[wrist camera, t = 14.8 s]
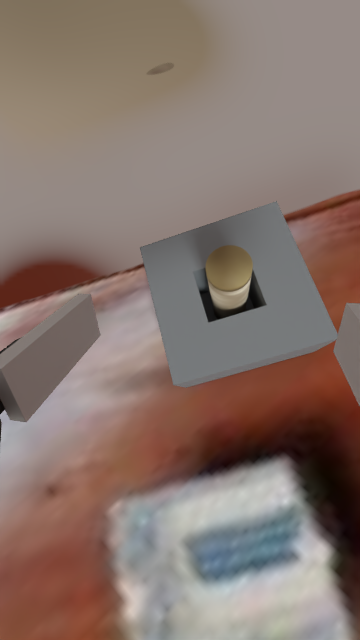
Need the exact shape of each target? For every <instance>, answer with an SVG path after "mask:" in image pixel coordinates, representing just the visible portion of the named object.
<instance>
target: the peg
mask: <svg viewBox="0 0 360 640" xmlns="http://www.w3.org/2000/svg"><path fill="white" fill-rule="evenodd" d="M205 268H206V274H207V279H208V285H209V290H210V295H211V300H212V305H213V310H214V314H215V316H216V318H217V319H218V320H219V319H223V318H226V317H229V316H232V315H236V314H239V313H242V312H245V310H246V304H247V298H248V292H249V286H250V281H251V275H252V269H253V262H252V259H251V257H250V255H249V253H248V252H247V251H245V250H244V249H243V248H241V247H238V246H234V245H226V246H222V247H219V248H217V249H216V250H214V251H213V252H212V253H211V254H210V255H209V257H208V259H207V261H206V267H205Z"/></svg>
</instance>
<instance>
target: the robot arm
mask: <svg viewBox="0 0 360 640" xmlns="http://www.w3.org/2000/svg"><path fill="white" fill-rule="evenodd" d="M99 336H100V331H99V327H98V323H97V319H96V314H95V310H94V306H93V301H92V297H91V294H78V295H76V296H75V297H74V298H72V299H71V300H70V301H68V302H67V303H66V304H65V305H63V306H62V307H61V308H59V309H58V310H57V311H55V312H54V313H53V314H52V315H50V316H49V317H48V318H46V319H45V320H44V321H42V322H41V323H40V324H39V325H37V326H36V327H35V328H33V329H32V330H31V331H29V332H28V333H27V334H26V335H24V336H23V337H21V338H19V339H17V340H15V341H14V342H12V343H11V344H10V345H8V346H7V348H4V349H3V350H2V351H0V414H1V413H2V412H3V411H4V410H5V411H6V412H7V414H8V416H9V418H10V420H14V421H21V422H27V421H28V420H29V419H30V417H31V416H32V415H33V414H34V413H35V412H36V410H37V409H38V408H39V407H40V406H41V404H42V403H43V402H44V401H45V400H46V399H47V397H48V396H49V395H50V394H51V393H52V392H53V390H54V389H55V388H56V387H57V386H58V385H59V383H60V382H61V381H62V380H63V379H64V377H65V376H66V375H67V374H68V373H69V372H70V370H71V369H72V368H73V367H74V366H75V365H76V363H77V362H78V361H79V360H80V359H81V357H82V356H83V355H84V354H85V353H86V352H87V350H88V349H89V348H90V347H91V346H92V345H93V343H94V342H95V341H96V340H97V339H98V338H99ZM333 352H334V354H335V356H336V358H337V360H338V362H339V364H340V366H341V368H342V370H343V372H344V374H345V377H346V379H347V381H348V383H349V385H350V387H351V389H352V391H353V393H354V395H355V397H356V399H357V402H358V404H359V406H360V304H356V303H346V307H345V310H344V314H343V318H342V321H341V325H340V329H339V332H338V336H337V340H336V344H335V347H334V351H333ZM0 441H1V419H0Z"/></svg>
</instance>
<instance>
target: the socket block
mask: <svg viewBox="0 0 360 640" xmlns="http://www.w3.org/2000/svg"><path fill="white" fill-rule="evenodd" d="M226 245H234V246H238V247H241V248H243V249H244V250H245V251H247V252H248V253H249V255H250V257H251V259H252V262H253V269H252V275H251V281H250V286H249V292H248V298H247V304H246V310H245V312H242V313H239V314H236V315H232V316H229V317H226V318H223V319H219V320H218V319H217V318H216V316H215V314H214V310H213V305H212V300H211V295H210V290H209V285H208V279H207V274H206V268H205V267H206V261H207V259H208V257H209V255H210V254H211V253H212V252H213V251H214V250H216V249H217V248H219V247H222V246H226ZM140 250H141V254H142V258H143V262H144V266H145V270H146V274H147V278H148V282H149V286H150V291H151V295H152V299H153V303H154V307H155V311H156V315H157V319H158V323H159V327H160V331H161V336H162V340H163V344H164V348H165V352H166V356H167V360H168V364H169V368H170V372H171V376H172V381H173V385H176V386H181V387H190V386H194V385H197V384H201V383H204V382H208V381H211V380H215V379H219V378H222V377H226V376H229V375H233V374H236V373H240V372H244V371H247V370H251V369H254V368H258V367H261V366H265V365H269V364H272V363H276V362H279V361H283V360H286V359H290V358H294V357H297V356H301V355H304V354H308V353H311V352H314V351H316V350H318V349H320V348H322V347H324V346H326V345H328V344H330V343H331V342H333V341H335V340H337V336H338V334H337V332H336V330H335V327H334V325H333V323H332V321H331V319H330V316H329V314H328V312H327V310H326V308H325V306H324V303H323V301H322V299H321V297H320V295H319V292H318V290H317V288H316V286H315V284H314V282H313V279H312V277H311V275H310V273H309V271H308V269H307V266H306V264H305V262H304V260H303V258H302V255H301V253H300V251H299V249H298V247H297V245H296V242H295V240H294V238H293V236H292V234H291V231H290V229H289V227H288V225H287V223H286V221H285V218H284V216H283V214H282V212H281V210H280V208H279V205H278V203H277V201H276V202H273V203H270V204H267V205H264V206H261V207H259V208H255V209H252V210H250V211H246V212H244V213H241V214H238V215H235V216H232V217H229V218H226V219H223V220H220V221H217V222H214V223H211V224H208V225H205V226H202V227H199V228H196V229H193V230H190V231H187V232H184V233H181V234H178V235H175V236H173V237H169V238H167V239H164V240H161V241H158V242H155V243H152V244H149V245H146V246H143V247H141V248H140Z"/></svg>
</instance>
